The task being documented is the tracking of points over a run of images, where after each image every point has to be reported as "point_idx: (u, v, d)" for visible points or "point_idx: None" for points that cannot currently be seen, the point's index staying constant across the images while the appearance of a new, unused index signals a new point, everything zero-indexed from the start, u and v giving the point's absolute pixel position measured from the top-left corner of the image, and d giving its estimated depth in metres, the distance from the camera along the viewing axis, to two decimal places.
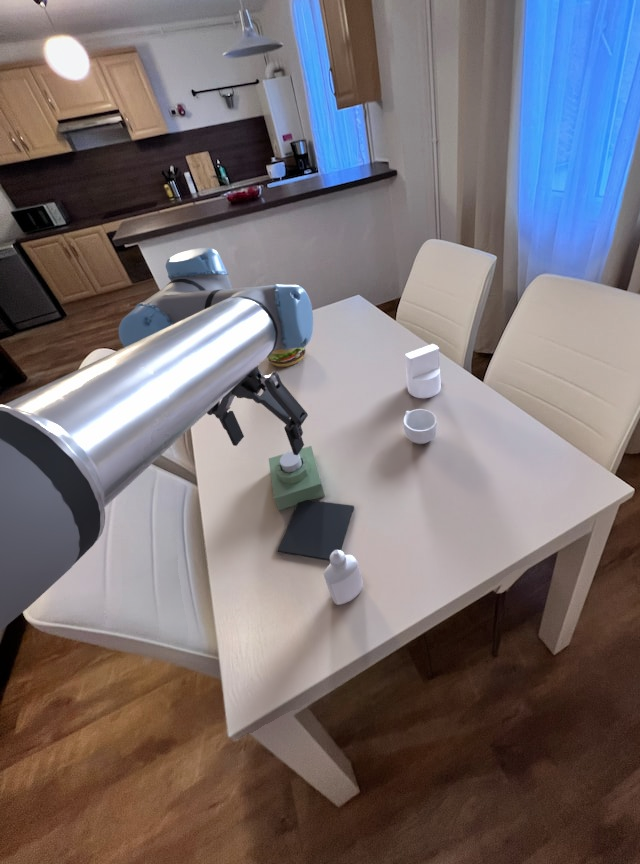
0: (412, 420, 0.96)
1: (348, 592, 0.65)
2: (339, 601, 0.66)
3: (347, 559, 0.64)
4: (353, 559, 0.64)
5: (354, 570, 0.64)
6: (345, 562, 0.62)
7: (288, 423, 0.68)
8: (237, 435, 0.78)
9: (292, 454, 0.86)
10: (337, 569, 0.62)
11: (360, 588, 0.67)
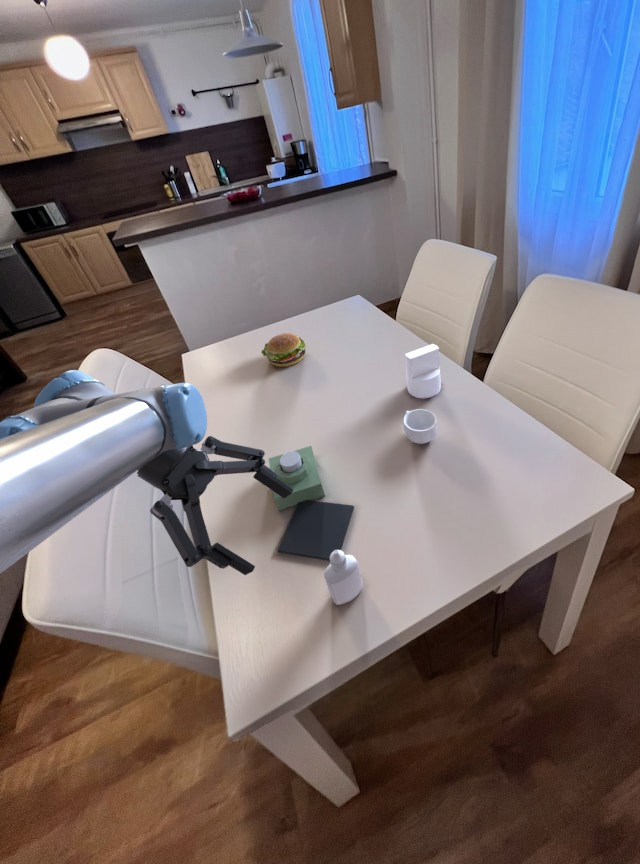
0: (412, 420, 0.96)
1: (348, 592, 0.65)
2: (339, 601, 0.66)
3: (347, 559, 0.64)
4: (353, 559, 0.64)
5: (354, 570, 0.64)
6: (345, 562, 0.62)
7: (257, 462, 0.66)
8: None
9: (292, 454, 0.86)
10: (337, 569, 0.62)
11: (360, 588, 0.67)
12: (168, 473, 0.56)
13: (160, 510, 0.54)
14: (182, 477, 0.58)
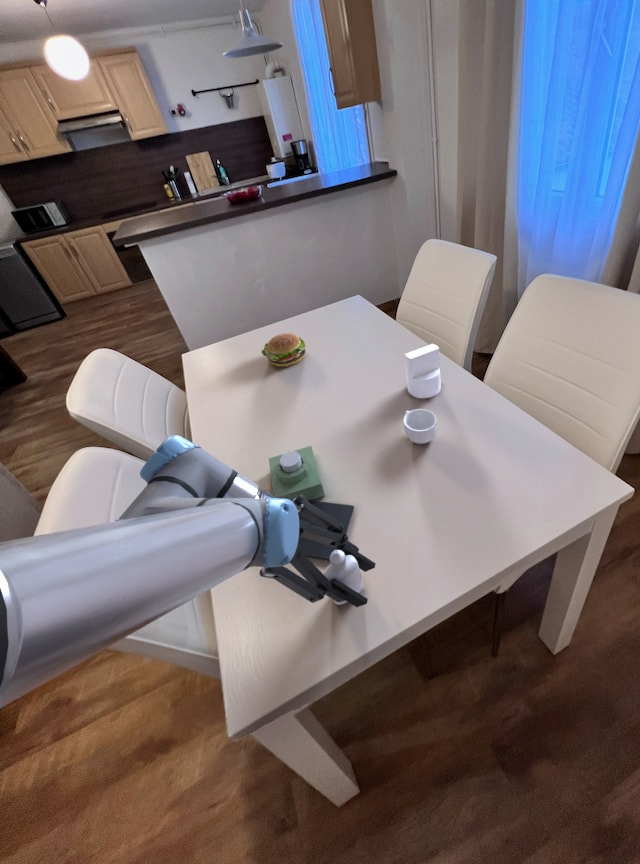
0: (412, 420, 0.96)
1: None
2: None
3: (347, 559, 0.64)
4: (353, 559, 0.64)
5: (354, 570, 0.64)
6: (345, 562, 0.62)
7: (340, 537, 0.66)
8: None
9: (292, 454, 0.86)
10: (337, 569, 0.62)
11: (360, 588, 0.67)
12: None
13: (274, 572, 0.56)
14: None
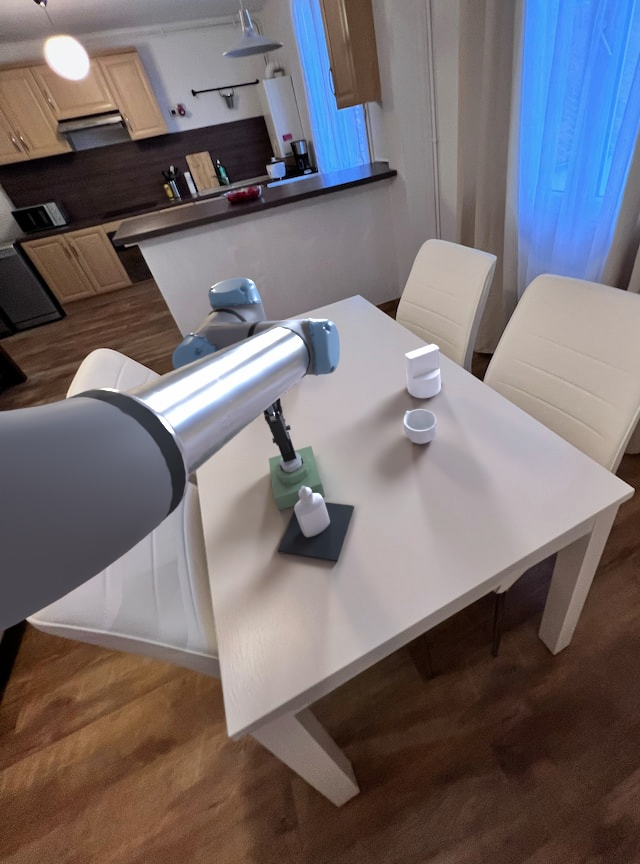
0: (412, 420, 0.96)
1: (315, 525, 0.76)
2: (308, 533, 0.76)
3: (314, 496, 0.74)
4: (319, 496, 0.75)
5: (320, 505, 0.74)
6: (312, 497, 0.73)
7: (286, 426, 0.82)
8: None
9: None
10: (304, 503, 0.73)
11: (327, 523, 0.78)
12: None
13: (280, 418, 0.72)
14: None
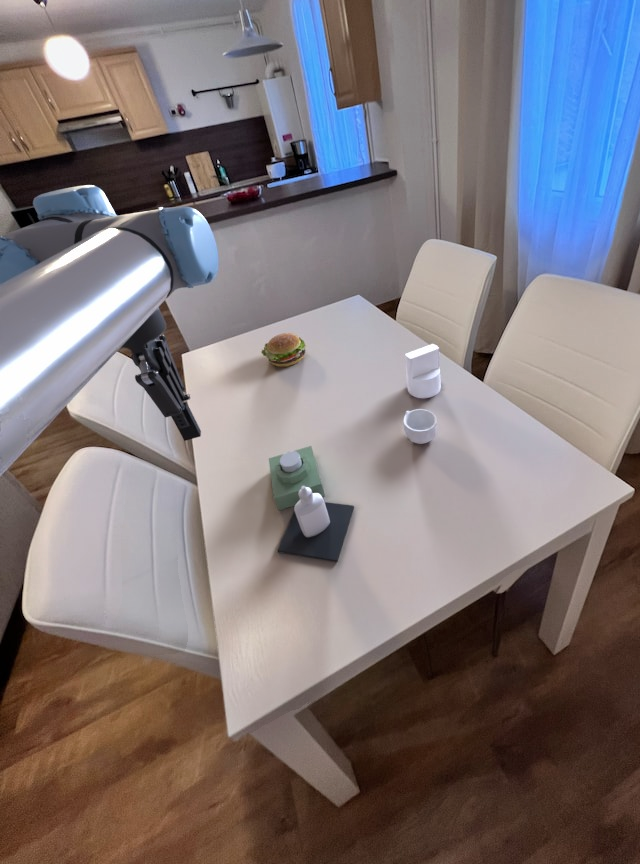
0: (412, 420, 0.96)
1: (315, 525, 0.76)
2: (308, 533, 0.76)
3: (314, 496, 0.74)
4: (319, 496, 0.75)
5: (320, 505, 0.74)
6: (312, 497, 0.73)
7: (183, 394, 0.66)
8: None
9: (292, 454, 0.86)
10: (304, 503, 0.73)
11: (327, 523, 0.78)
12: (155, 338, 0.56)
13: (157, 379, 0.56)
14: (152, 348, 0.58)
